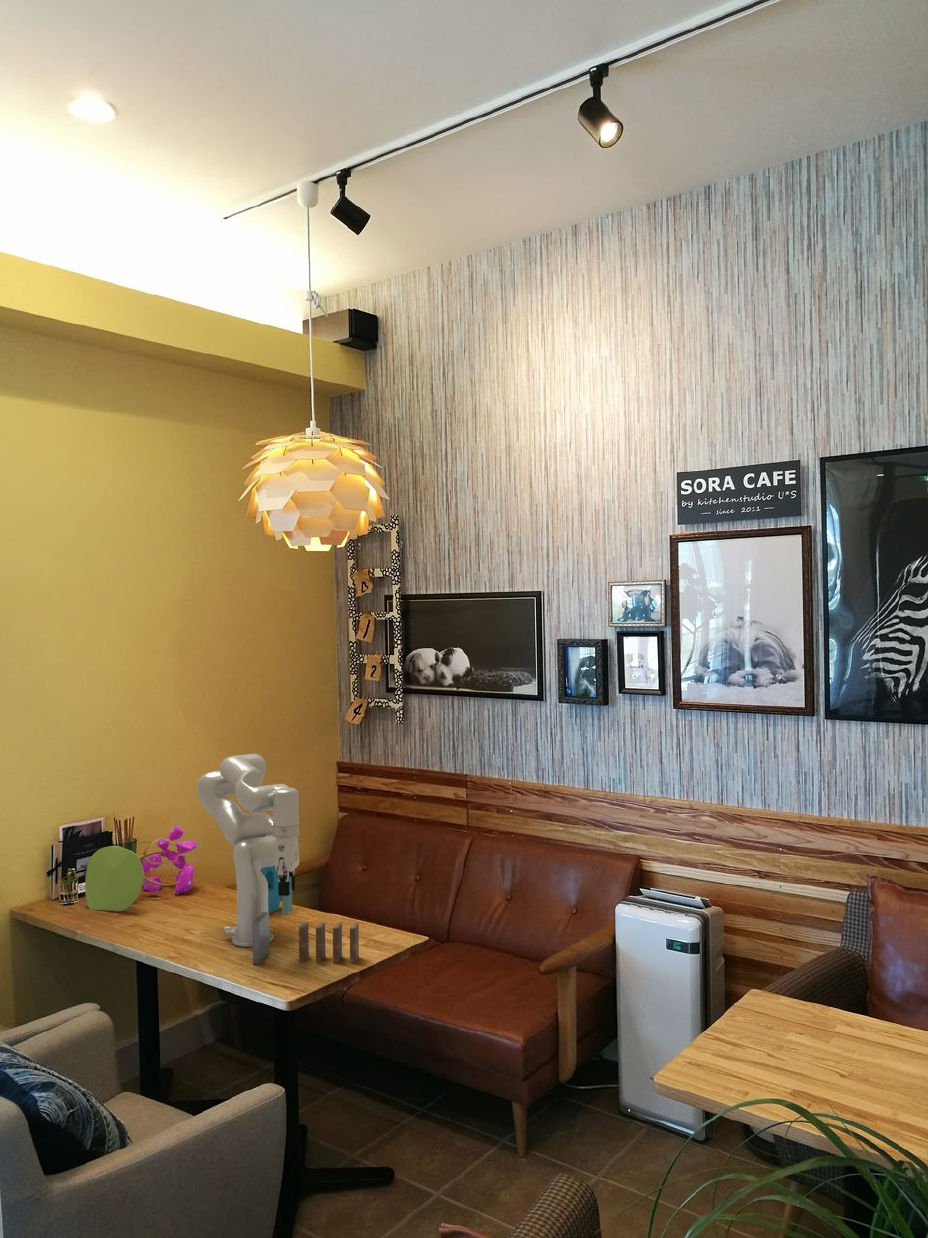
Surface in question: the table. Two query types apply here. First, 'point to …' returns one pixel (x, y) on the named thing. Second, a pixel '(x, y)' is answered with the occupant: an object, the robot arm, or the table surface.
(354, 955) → the walnut tile
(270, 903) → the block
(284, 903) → the teal tile
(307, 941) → the walnut tile
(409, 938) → the table surface
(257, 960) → the bookend
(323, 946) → the walnut tile
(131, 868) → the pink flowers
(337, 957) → the walnut tile
